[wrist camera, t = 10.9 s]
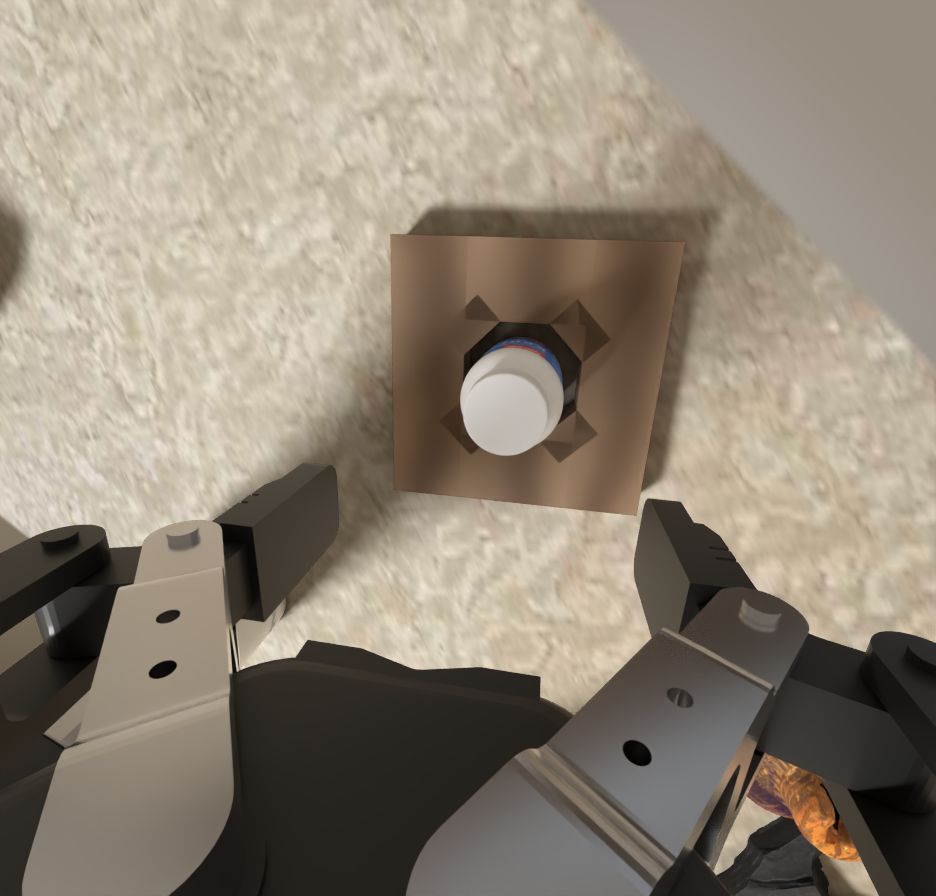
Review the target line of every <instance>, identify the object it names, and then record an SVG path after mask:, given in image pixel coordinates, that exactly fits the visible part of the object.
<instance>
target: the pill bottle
mask: <svg viewBox="0 0 936 896" xmlns="http://www.w3.org/2000/svg"><path fill="white" fill-rule="evenodd" d="M563 401H564V395H563V382H562V372H561V367H560V364H559V361H558V359H557V358H556V356H555V354H554V353H553V352H552V350H551V349H550V348H549V347H547V346H546V345H545V344H544V343H542V342H540V341H538V340H536V339H533V338H529V337H521V336H519V337H511V338H507V339H504V340H502V341H500V342H498V343H497V344H495V345H494V346H492V347H491V348H490V349H489V350H488V351H487V352H486V353H485V354H484V355H483V356H482V357H481V358H480V359H479V360H478V361H477V362H476V363H475V364H474V366H473V367H472V368H471V369H470V371H469V372H468V374H467V376H466V377H465V380H464V382H463V386H462V389H461V396H460V404H461V411H462V414H463V419H464V424H465V427H466V430H467V432H468V434H469V435H470V437H471V438H472V440H473V441H474V442H475V443H476V444H477V445H478V446H480V447H481V448H482V449H484V450H486V451H488V452H490V453H493V454H496V455H503V456H510V455H517V454H520V453H523V452H525V451H527V450H529V449H530V448H532V447H533V446H534V445H537V444H538V443H540V442H542V441H543V440H544V439H545V438H547V437H548V436H549V435H550V434H551V432H552V431H553V430H554V428H555V427H556V425H557V424H558V421H559V419H560V417H561V414H562V409H563Z"/></svg>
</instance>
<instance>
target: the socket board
mask: <svg viewBox="0 0 936 896" xmlns="http://www.w3.org/2000/svg"><path fill="white" fill-rule="evenodd" d="M390 236H391V303H392V371H393V439H394V490H401V491H410V492H420V493H429V494H438V495H448V496H457V497H466V498H475V499H485V500H494V501H503V502H513V503H522V504H531V505H541V506H550V507H559V508H568V509H578V510H587V511H596V512H606V513H615V514H624V515H634V516H637V510H638V504H639V499H640V493H641V488H642V482H643V476H644V471H645V465H646V459H647V454H648V448H649V443H650V437H651V431H652V426H653V420H654V414H655V409H656V403H657V398H658V392H659V386H660V381H661V375H662V369H663V364H664V358H665V353H666V347H667V341H668V336H669V330H670V324H671V319H672V313H673V308H674V302H675V296H676V291H677V285H678V279H679V274H680V268H681V263H682V257H683V251H684V246H685V242H662V241H625V240H588V239H552V238H515V237H478V236H441V235H405V234H390ZM500 322H519V323H538V324H550V325H551V326H552V327H553V328H554V330H555V331H556V332H557V333H558V334H559V335H560V337H561V338H562V339H563V340H564V341H565V343H566V344H567V345H568V346H569V347H570V348H571V350H572V351H573V352H574V353H575V354H576V356H577V357H578V358H579V366H578V375H577V383H576V392H575V400H574V402H572V403H571V404H570V405H569V406H567V407H566V408H565V409H564V410H562V414H561V417H560V419H559V421H558V424H557V425H556V427H555V428H554V430H553V431H552V432H551V434H550V435H549V436H548V437H547V438H545V439H544V440H543V441H542V442H540V443H538V444H537V445H534V446H533V447H532V448H530V449H529V450H527V451H525V452H523V453H520V454H517V455H510V456H503V455H496V454H493V453H490V452H488V451H486V450H484V449H482V448H481V447H480V446H478V445H477V444H476V443H475V442H474V441H473V440H472V438H471V437H470V435H469V434H468V432H467V430H466V427H465V424H464V419H463V414H462V411H461V404H460V396H461V389H462V386H463V382H464V380H465V377H466V376H467V374H468V372H469V371H470V350H471V349H472V348H473V347H474V346H475V345H476V344H477V343H478V342H479V341H480V340H481V339H482V338H484V337H485V336H486V335H487V334H488V333H489V332H490V331H491V330H492V329H493V328H494V327H495V326H496V325H498V324H499V323H500Z"/></svg>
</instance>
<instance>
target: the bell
mask: <svg viewBox="0 0 936 896" xmlns="http://www.w3.org/2000/svg"><path fill="white" fill-rule="evenodd" d="M774 768H775V769H774ZM796 775H797V776H796ZM789 782H790V784H789ZM812 785H813V786H812ZM822 785H823V786H824V787H825V785H824V783H823V780H822V778H821V777H820V776H818V775H815V774H813V773H811V772H808V771H806V770H803V769H801V768H799V767H796V766H794V765H792V764H789V763H787V762H785V761H782V760H780V759H777V758H775V757H773V756H770V755H768V754H766V757H765V759H764V761H763V763H762V766H761V768H760V770H759V772H758V774H757V776H756V778H755V780H754V782H753V784H752V786H751V788H750V790H749V792H748V795H747V797H748V798H749V799H751V800H752V801H753V802H754V803H756V804H757V805H759V806H761V807H762V808H764V809H766V810H768V811H770V812H772V813H775V814H778V815H780V816H783V817H786V818H791V819H794V820H795V822H796V824H797V826H798V828H799V830H800V831H801V833H802V834H803V836H804V837H805V838H806V839H807V840H808V841H809V842H810V843H811V844H812V845H814V846H815V847H816V848H817V849H819V850H820V851H821V852H822V853H824V854H825V855H827V856H829V857H831V858H833V859H836V860H844V861H849V862H855V861H859V860H861V858H860V856H859V854H858V852H857V850H856V848H855V846H854V844H853V842H852V840H851V838H850V836H849V834H848V831H847V829H846V827H845V825H844V823H843V821H842V819H841V817H840V815H839V813H838V811H837V809H836V807H835V805H834V803H833V801H832V799H831V797H830V795H829V793H828V791H825V790H824V789H823V787H822ZM825 788H826V787H825Z"/></svg>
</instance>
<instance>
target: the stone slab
mask: <svg viewBox="0 0 936 896" xmlns="http://www.w3.org/2000/svg"><path fill="white" fill-rule="evenodd" d="M821 854H822V852H821V851H820V850H819V849H817V848H816V847H815V846H814V845H812V844H811V843H810V842H809V841H808V840H807V839H806V838H805V837H804V836H803V834H802V833H801V831H800V830H799V828H798V826H797V824H796V822H795V820H794V819H791V818H786V817H783V816H781V817H779V818H778V819H776V820H774V821H772V822H771V823H769V824H768V825H766V826H764V827H762V828H759V829H758V830H757V831H756V832H754V833H753V834H751V835H750V837H749V839H748V844H747V847H746V848H745V849H744V850H743V851H742V852H741V853H740V854H739V855H738V856H737V857H736V858H735V860H734V864H733V866H731V867H730V868H729V869H727V870H726V871H724V872H722V873H720V874H718V875H717V877H718V878H719V879H720V881H721V882H722V883H723V884H724V886H725V887H726V888H727V889H728V890H729V892H730V893H731V894H732V895H733V896H829V895H828V885H829V883H828V880H827V877H826V876H825V875H824V872H823V871H822V870H821V868H822V867H823V866H822V864H821V862H820V859H819V858H818V857H819V856H820V855H821Z"/></svg>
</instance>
